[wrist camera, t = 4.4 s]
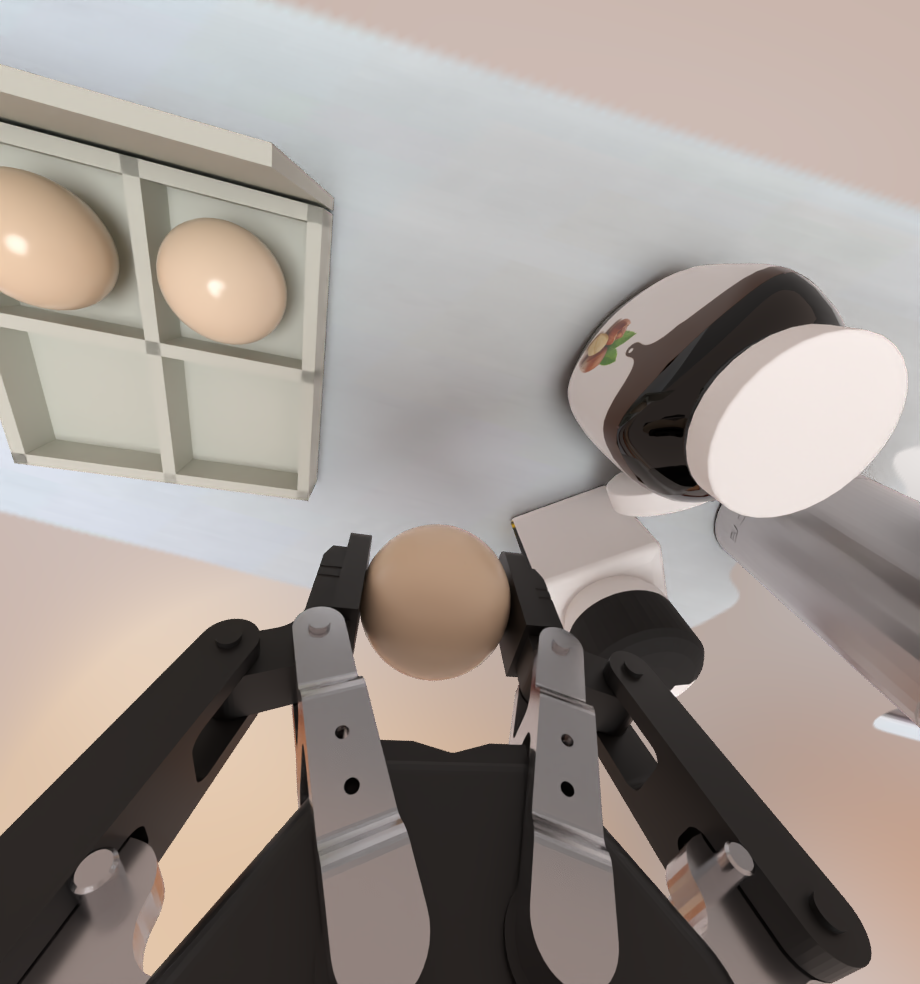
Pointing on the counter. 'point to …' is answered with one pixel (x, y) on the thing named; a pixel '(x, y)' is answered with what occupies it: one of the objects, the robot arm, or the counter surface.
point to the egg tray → (164, 304)
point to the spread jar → (735, 393)
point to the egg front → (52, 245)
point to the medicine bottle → (609, 584)
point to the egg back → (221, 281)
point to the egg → (435, 602)
